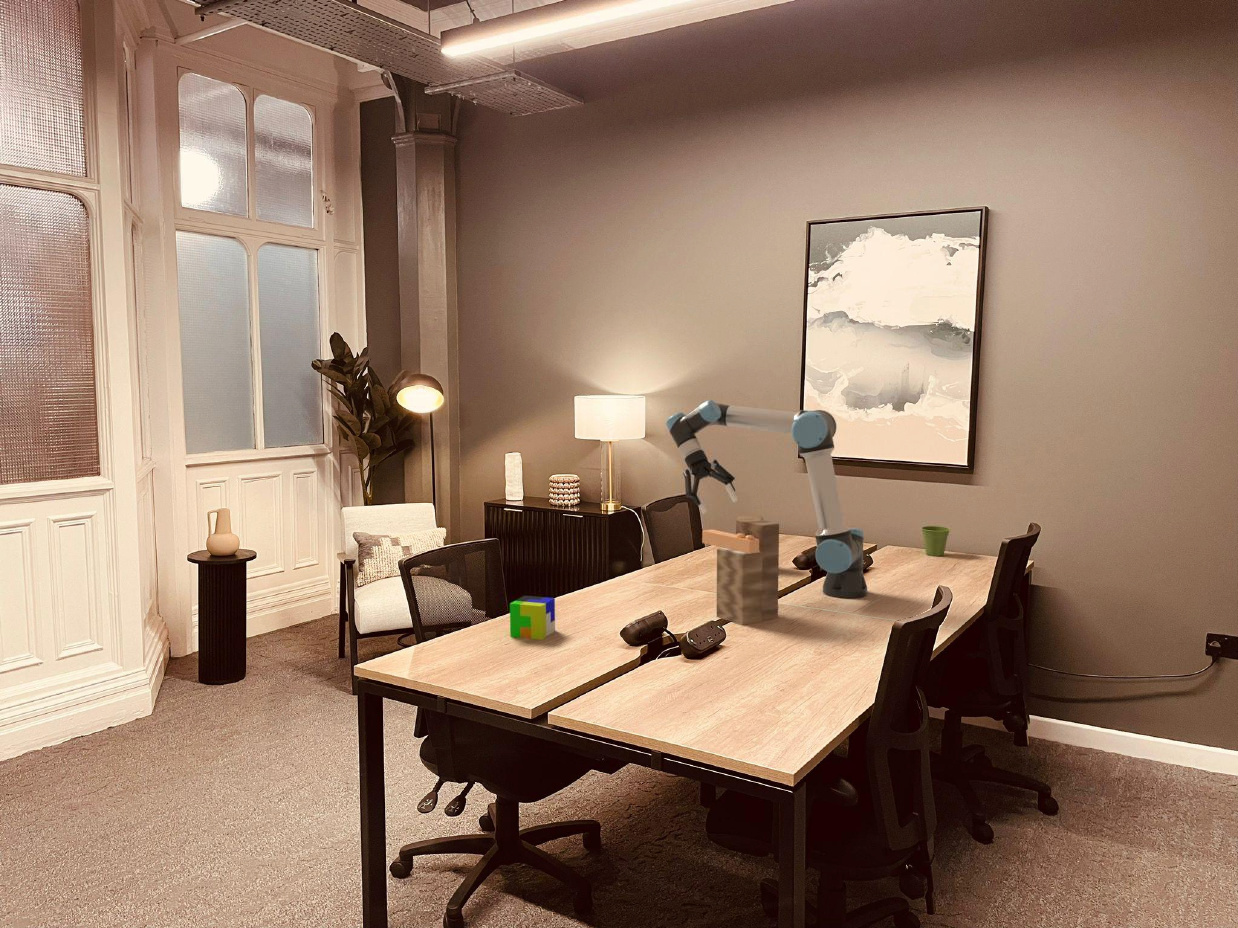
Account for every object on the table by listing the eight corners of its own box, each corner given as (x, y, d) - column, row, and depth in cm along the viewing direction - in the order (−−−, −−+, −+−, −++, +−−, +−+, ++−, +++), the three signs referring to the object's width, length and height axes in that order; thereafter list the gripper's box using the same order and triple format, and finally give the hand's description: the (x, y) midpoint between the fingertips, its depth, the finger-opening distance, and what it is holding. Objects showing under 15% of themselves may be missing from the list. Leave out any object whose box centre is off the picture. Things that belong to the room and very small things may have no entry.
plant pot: (915, 552, 393) (915, 526, 392) (941, 551, 394) (942, 525, 393) (927, 558, 381) (928, 530, 380) (954, 557, 382) (955, 530, 381)
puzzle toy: (555, 630, 278) (554, 598, 277) (541, 639, 269) (541, 606, 268) (524, 627, 281) (524, 595, 280) (510, 636, 272) (509, 603, 271)
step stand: (716, 616, 293) (717, 522, 290) (751, 609, 301) (752, 518, 298) (742, 625, 283) (743, 528, 280) (777, 617, 291) (779, 523, 288)
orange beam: (702, 542, 299) (702, 527, 299) (711, 541, 302) (711, 526, 301) (749, 553, 281) (749, 537, 281) (758, 552, 284) (759, 536, 283)
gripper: (716, 449, 336) (743, 500, 331) (660, 468, 324) (687, 521, 319) (725, 440, 330) (753, 492, 324) (668, 459, 318) (696, 513, 312)
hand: (720, 506), depth 321 cm, fingers open, 13 cm apart
